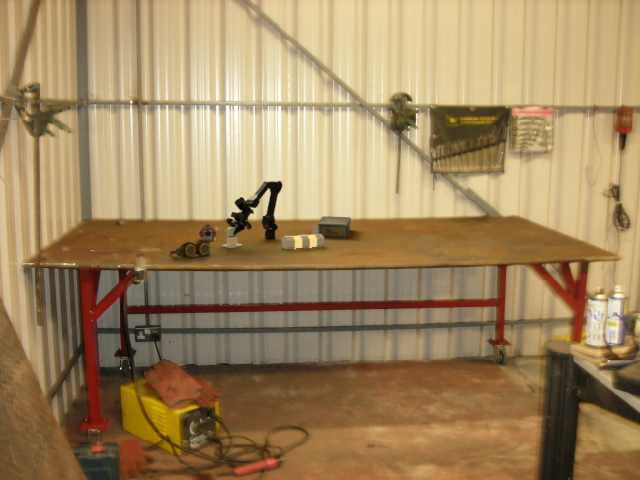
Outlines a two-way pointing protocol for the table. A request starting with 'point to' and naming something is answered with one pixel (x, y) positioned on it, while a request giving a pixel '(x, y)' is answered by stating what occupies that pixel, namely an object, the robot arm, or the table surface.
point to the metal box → (334, 227)
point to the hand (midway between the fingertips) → (232, 234)
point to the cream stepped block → (232, 242)
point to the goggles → (193, 249)
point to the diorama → (303, 240)
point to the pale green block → (231, 231)
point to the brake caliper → (207, 233)
